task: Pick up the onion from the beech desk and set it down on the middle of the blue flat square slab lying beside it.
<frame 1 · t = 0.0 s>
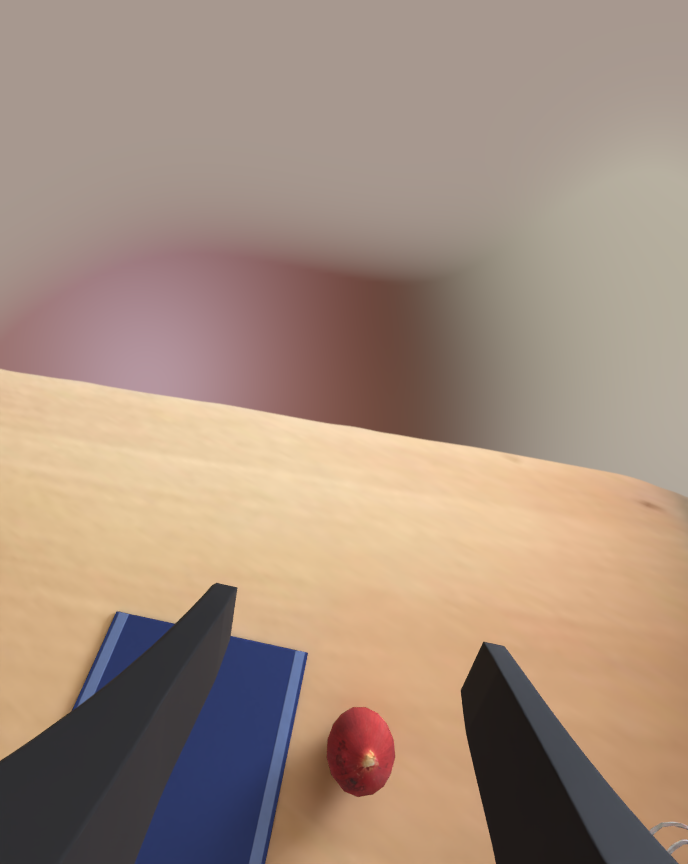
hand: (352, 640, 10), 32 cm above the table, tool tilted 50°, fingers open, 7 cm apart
onion: (354, 737, 35), on the table
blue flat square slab: (172, 757, 33), on the table
french press: (594, 862, 33), on the table
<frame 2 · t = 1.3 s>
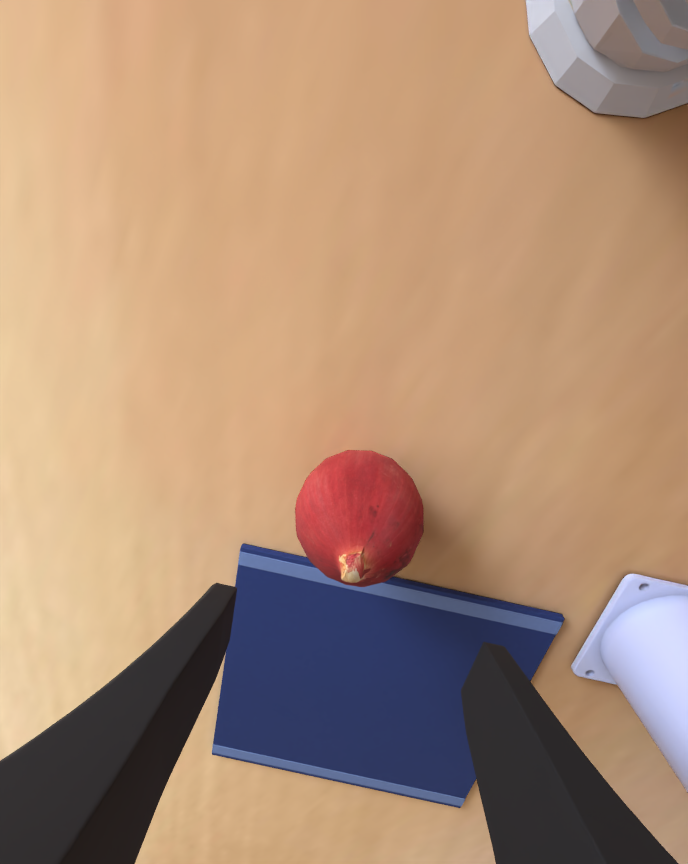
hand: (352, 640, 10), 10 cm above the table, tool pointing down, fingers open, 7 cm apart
onion: (361, 476, 20), on the table
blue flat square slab: (365, 689, 26), on the table
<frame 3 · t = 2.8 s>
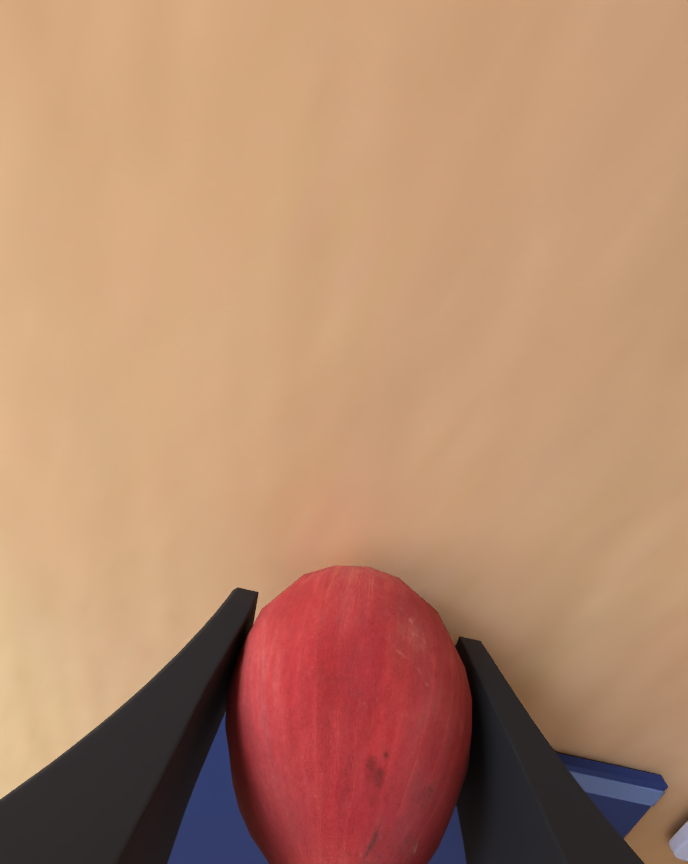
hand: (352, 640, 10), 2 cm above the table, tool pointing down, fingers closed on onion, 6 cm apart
onion: (354, 580, 13), on the table, touching gripper
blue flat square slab: (363, 854, 18), on the table
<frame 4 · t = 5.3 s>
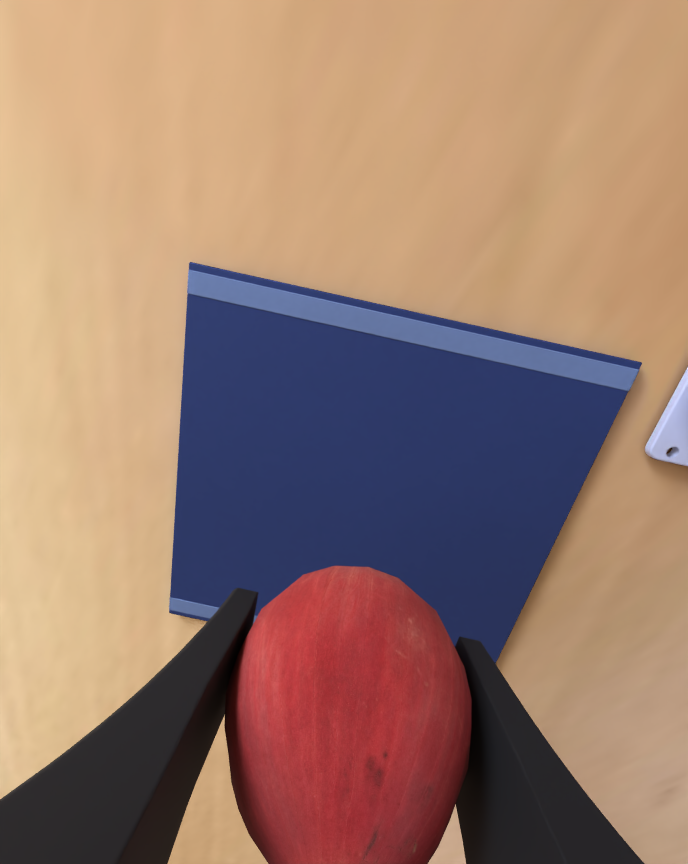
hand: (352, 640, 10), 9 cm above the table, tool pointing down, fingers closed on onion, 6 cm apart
onion: (354, 580, 13), point 7 cm above the table, touching gripper
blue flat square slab: (364, 505, 19), on the table
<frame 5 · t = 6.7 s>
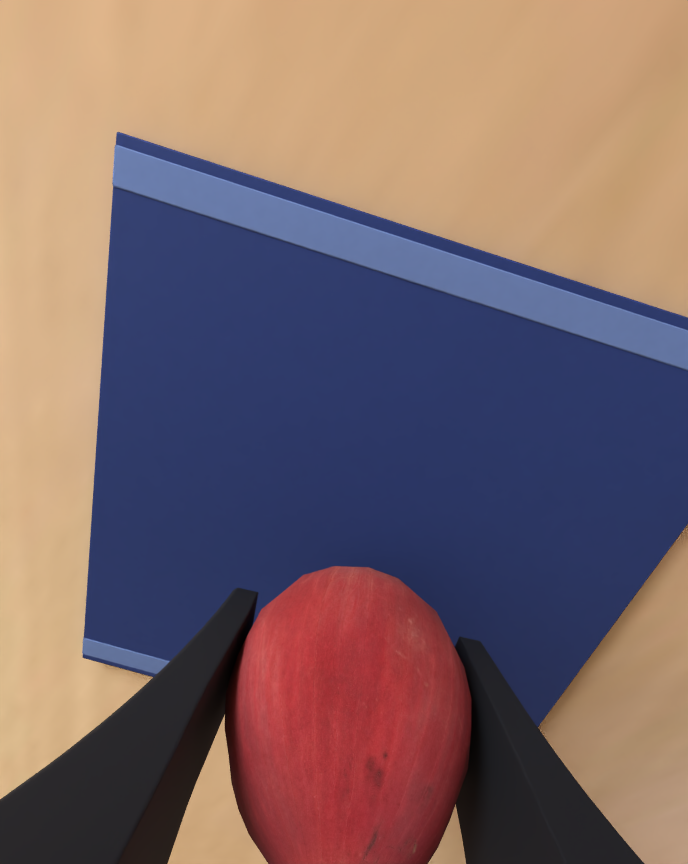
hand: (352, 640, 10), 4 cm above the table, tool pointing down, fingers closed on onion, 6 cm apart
onion: (354, 580, 13), point 1 cm above the table, touching gripper
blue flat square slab: (364, 535, 14), on the table
when the fingers open (3 cm above the table, at t = 7.7 s): onion stays where it is, resting on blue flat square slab.
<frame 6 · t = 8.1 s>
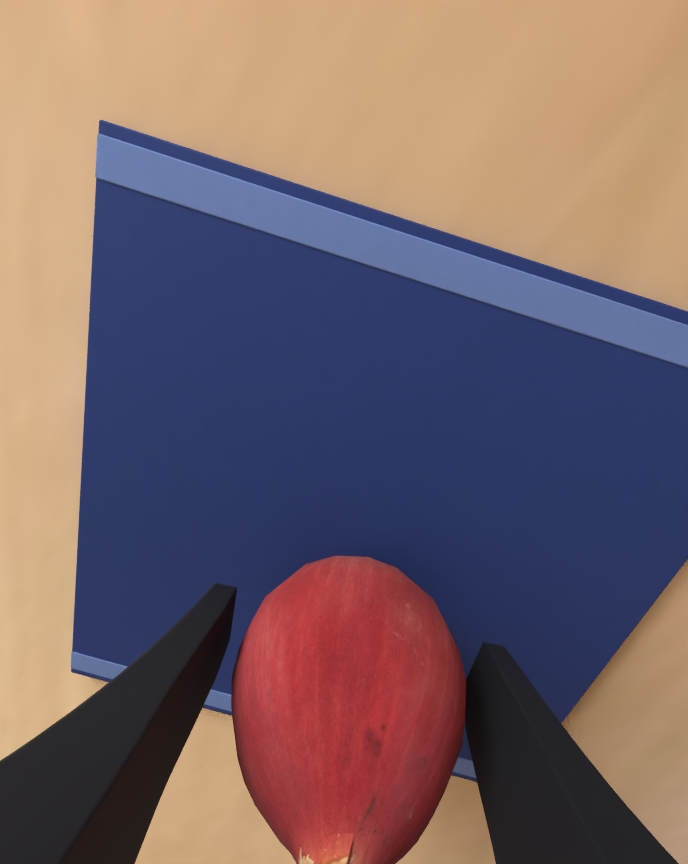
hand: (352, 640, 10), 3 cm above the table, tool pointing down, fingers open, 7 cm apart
onion: (354, 571, 13), resting on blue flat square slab
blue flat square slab: (364, 546, 13), on the table
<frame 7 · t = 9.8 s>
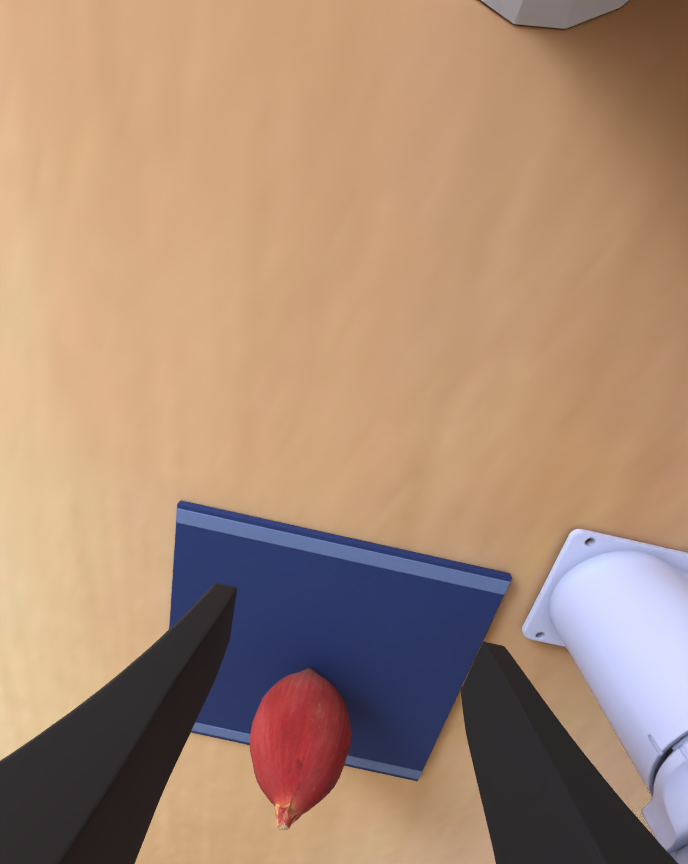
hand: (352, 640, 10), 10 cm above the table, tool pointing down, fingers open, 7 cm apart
onion: (311, 669, 25), resting on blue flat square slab
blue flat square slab: (315, 656, 25), on the table
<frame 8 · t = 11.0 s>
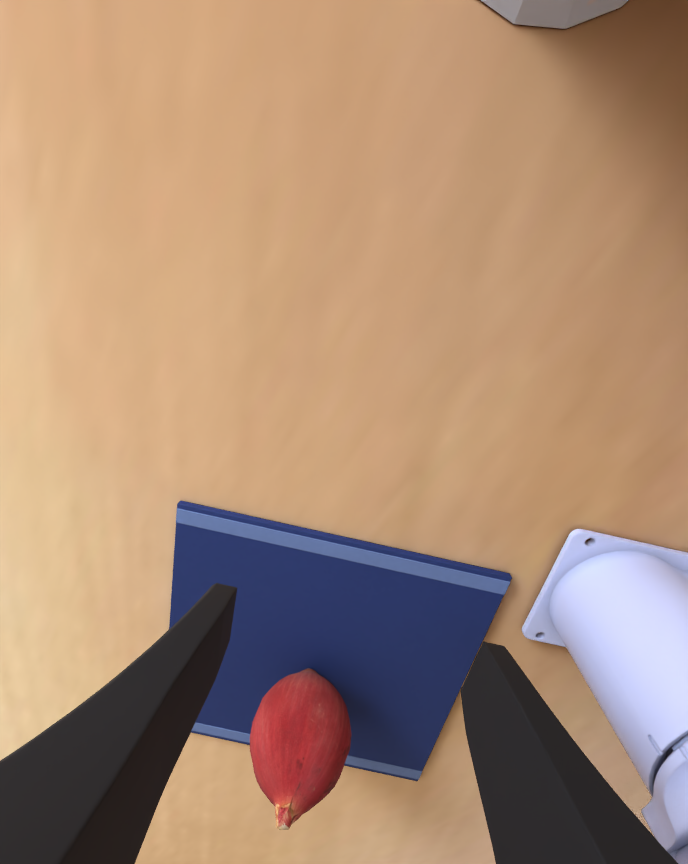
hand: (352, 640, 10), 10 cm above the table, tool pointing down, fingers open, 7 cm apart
onion: (311, 669, 25), resting on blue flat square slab
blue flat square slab: (315, 656, 25), on the table
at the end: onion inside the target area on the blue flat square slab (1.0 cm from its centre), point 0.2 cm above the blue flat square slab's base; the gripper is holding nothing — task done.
